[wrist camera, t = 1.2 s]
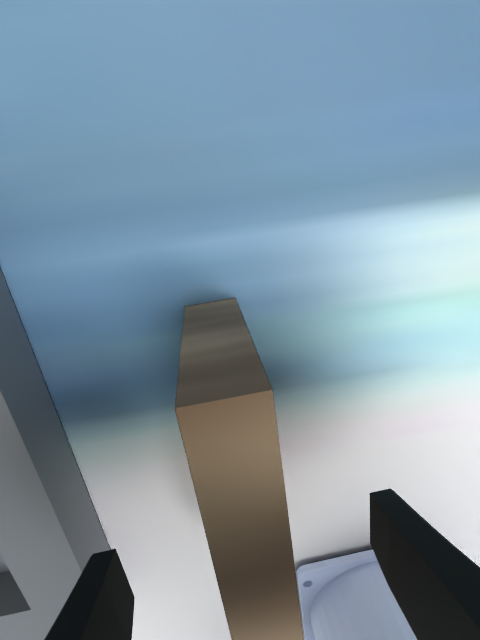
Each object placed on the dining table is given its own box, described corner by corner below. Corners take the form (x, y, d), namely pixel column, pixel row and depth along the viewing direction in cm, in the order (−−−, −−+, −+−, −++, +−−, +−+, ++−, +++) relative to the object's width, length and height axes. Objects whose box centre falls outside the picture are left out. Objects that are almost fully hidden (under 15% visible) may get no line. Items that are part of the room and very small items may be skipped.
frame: (266, 503, 17) (310, 688, 11) (227, 512, 17) (247, 704, 11) (235, 297, 14) (272, 389, 7) (184, 305, 13) (173, 408, 7)
